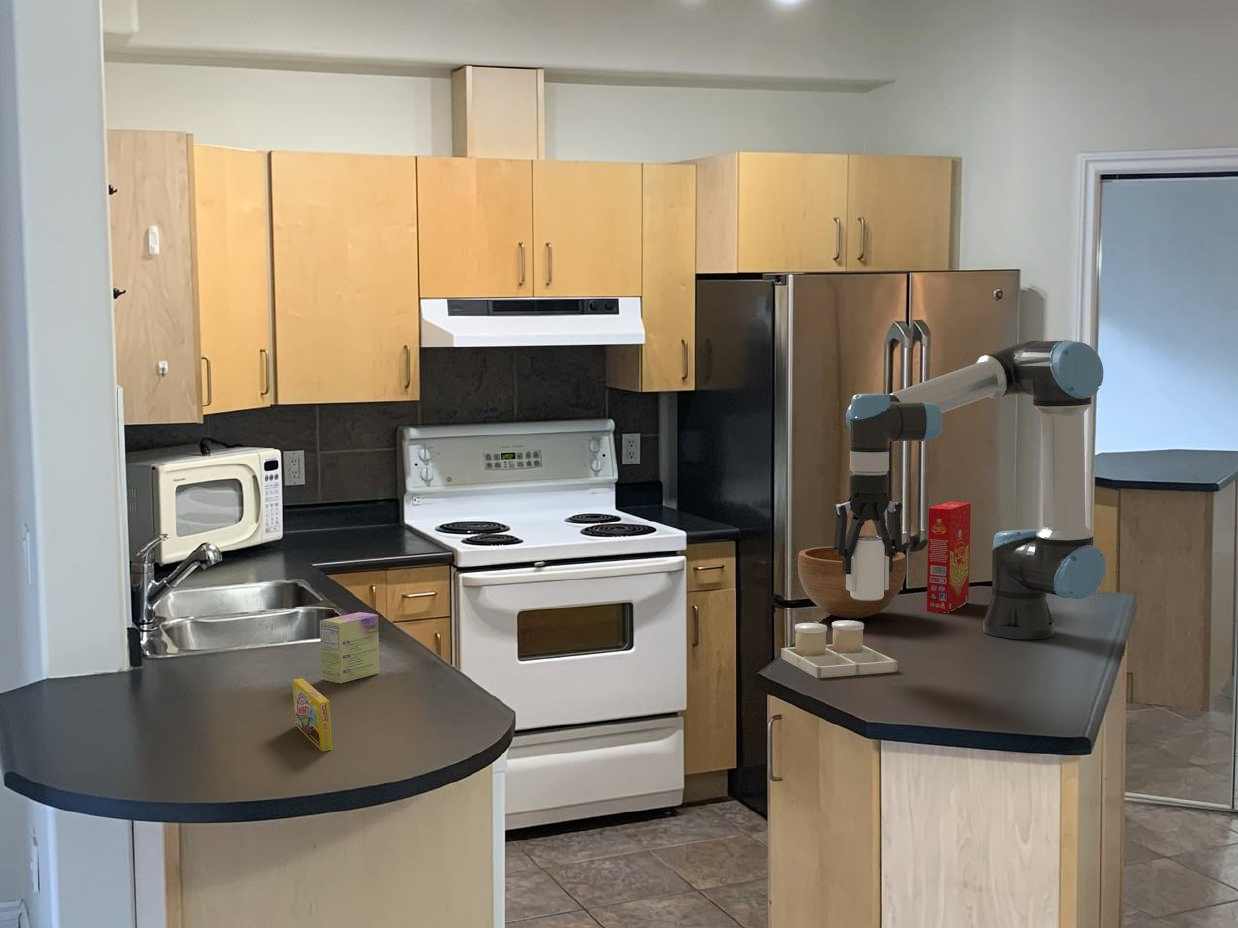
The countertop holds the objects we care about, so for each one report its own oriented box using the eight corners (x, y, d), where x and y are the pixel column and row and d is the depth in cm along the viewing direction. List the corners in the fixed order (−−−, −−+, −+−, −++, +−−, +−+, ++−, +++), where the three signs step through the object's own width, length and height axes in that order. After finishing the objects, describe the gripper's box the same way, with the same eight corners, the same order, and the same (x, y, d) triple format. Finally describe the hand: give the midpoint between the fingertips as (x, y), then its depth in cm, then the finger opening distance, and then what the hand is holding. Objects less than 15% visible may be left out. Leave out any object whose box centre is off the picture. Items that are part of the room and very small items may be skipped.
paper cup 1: (818, 656, 277) (818, 621, 277) (831, 663, 271) (832, 628, 271) (789, 658, 276) (789, 623, 275) (802, 666, 270) (802, 630, 269)
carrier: (857, 653, 281) (857, 642, 281) (897, 673, 265) (897, 661, 265) (780, 659, 277) (781, 648, 276) (817, 679, 260) (817, 667, 260)
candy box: (293, 726, 230) (291, 679, 229) (305, 725, 231) (304, 677, 230) (319, 752, 216) (318, 701, 215) (333, 750, 217) (331, 699, 216)
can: (849, 600, 264) (850, 539, 263) (850, 594, 271) (851, 534, 269) (883, 601, 263) (884, 540, 262) (883, 595, 269) (884, 535, 268)
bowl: (915, 628, 306) (916, 562, 304) (804, 628, 306) (804, 562, 305) (894, 607, 330) (895, 545, 329) (791, 606, 331) (792, 545, 329)
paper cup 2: (854, 653, 280) (855, 619, 279) (868, 660, 274) (869, 625, 273) (826, 656, 278) (826, 621, 277) (840, 663, 272) (840, 627, 271)
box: (359, 669, 269) (358, 610, 268) (380, 673, 266) (379, 614, 265) (319, 680, 261) (318, 619, 260) (340, 684, 257) (339, 623, 256)
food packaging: (947, 613, 322) (950, 509, 320) (926, 611, 325) (928, 507, 323) (968, 603, 335) (970, 503, 332) (947, 601, 338) (949, 501, 335)
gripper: (904, 469, 271) (902, 583, 273) (815, 472, 265) (813, 588, 267) (923, 473, 264) (920, 590, 266) (832, 476, 258) (830, 595, 260)
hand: (867, 589), depth 267 cm, fingers closed on can, 6 cm apart
